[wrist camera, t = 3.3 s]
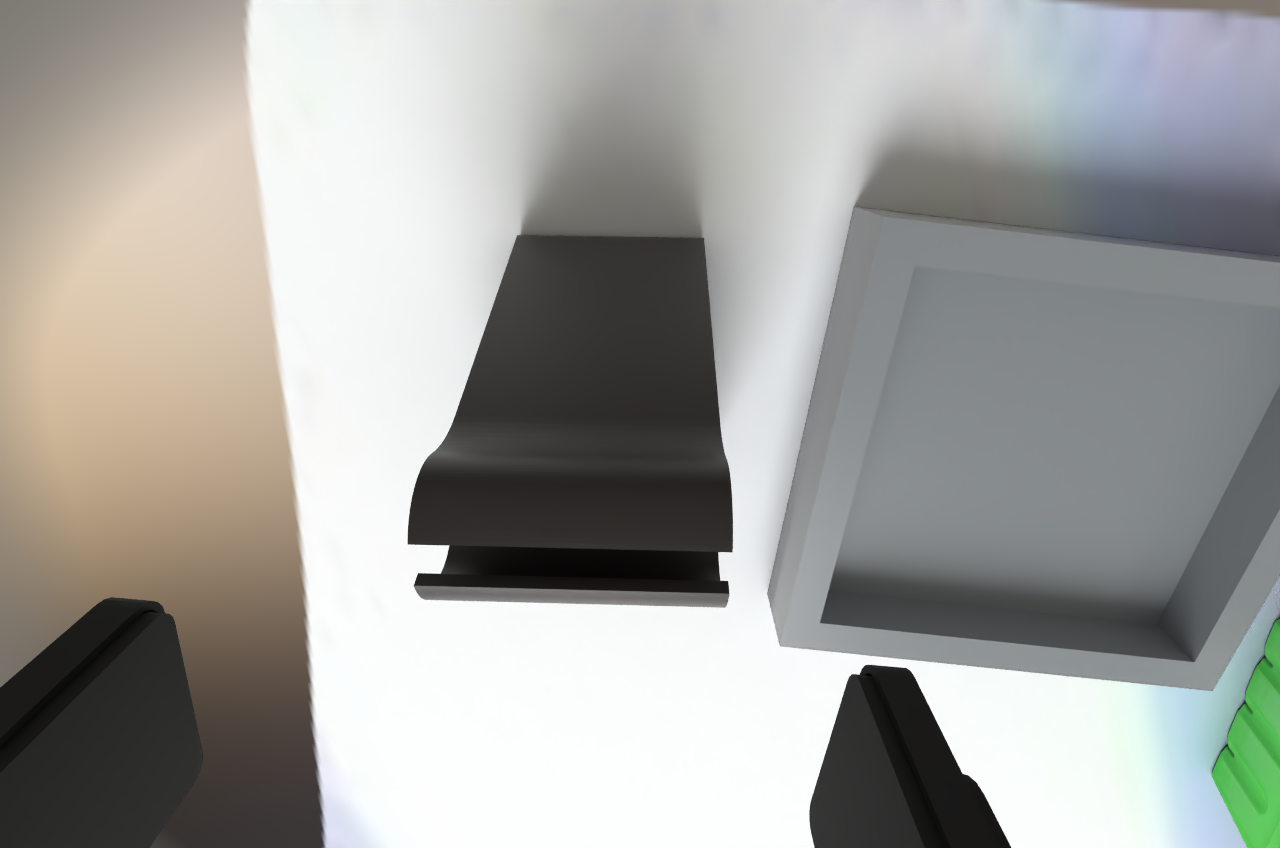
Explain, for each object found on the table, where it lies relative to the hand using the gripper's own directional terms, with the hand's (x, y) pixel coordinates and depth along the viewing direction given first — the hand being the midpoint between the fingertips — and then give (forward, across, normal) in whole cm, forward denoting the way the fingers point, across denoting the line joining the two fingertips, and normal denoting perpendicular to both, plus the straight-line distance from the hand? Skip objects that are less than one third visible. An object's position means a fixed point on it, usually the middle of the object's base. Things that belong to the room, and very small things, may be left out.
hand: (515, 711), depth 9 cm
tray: (+15, -16, +1) cm, 22 cm away
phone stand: (+16, -1, 0) cm, 16 cm away
